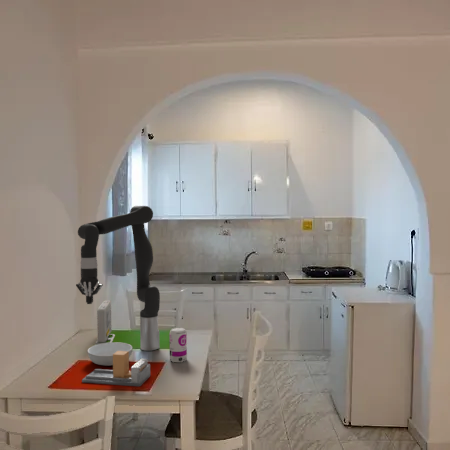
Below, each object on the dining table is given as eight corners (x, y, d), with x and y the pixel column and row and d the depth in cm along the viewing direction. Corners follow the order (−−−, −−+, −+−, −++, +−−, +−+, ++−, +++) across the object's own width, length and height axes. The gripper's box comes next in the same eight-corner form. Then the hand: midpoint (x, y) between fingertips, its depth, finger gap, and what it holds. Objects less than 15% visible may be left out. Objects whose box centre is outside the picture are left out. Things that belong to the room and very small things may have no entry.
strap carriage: (113, 377, 191) (112, 354, 191) (118, 373, 196) (117, 350, 196) (139, 379, 189) (139, 355, 188) (144, 375, 194) (143, 352, 193)
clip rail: (81, 382, 190) (81, 364, 190) (95, 372, 202) (95, 355, 202) (140, 386, 185) (139, 368, 185) (150, 375, 197) (150, 358, 197)
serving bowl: (87, 372, 202) (86, 357, 202) (88, 357, 222) (88, 344, 222) (134, 367, 208) (133, 353, 208) (131, 354, 228) (131, 340, 228)
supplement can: (190, 360, 218) (190, 329, 217) (177, 364, 211) (177, 332, 211) (179, 356, 223) (178, 326, 223) (166, 360, 217) (165, 329, 217)
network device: (101, 333, 266) (100, 300, 265) (116, 333, 267) (115, 299, 266) (93, 346, 241) (92, 309, 240) (110, 346, 242) (109, 309, 241)
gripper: (71, 267, 208) (72, 305, 209) (98, 268, 206) (98, 305, 206) (80, 265, 216) (80, 301, 216) (105, 266, 213) (106, 302, 214)
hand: (89, 303), depth 211 cm, fingers closed
